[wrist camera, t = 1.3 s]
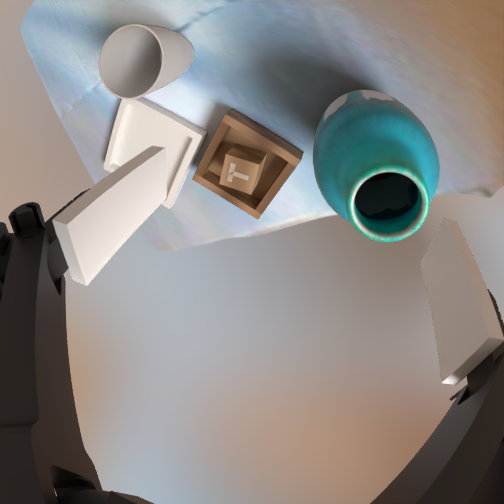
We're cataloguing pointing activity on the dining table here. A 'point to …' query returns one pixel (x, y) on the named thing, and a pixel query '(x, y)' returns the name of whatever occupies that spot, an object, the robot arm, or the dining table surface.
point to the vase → (376, 164)
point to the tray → (154, 141)
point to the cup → (143, 60)
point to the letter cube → (242, 168)
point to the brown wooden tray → (256, 137)
